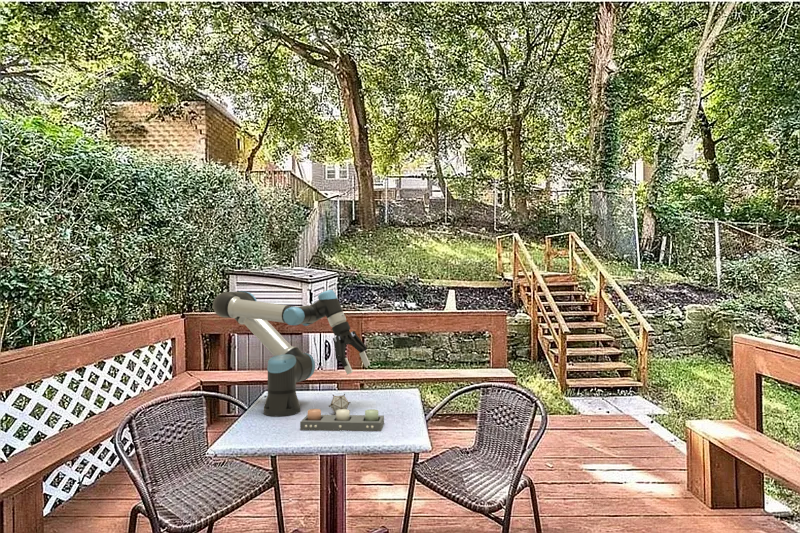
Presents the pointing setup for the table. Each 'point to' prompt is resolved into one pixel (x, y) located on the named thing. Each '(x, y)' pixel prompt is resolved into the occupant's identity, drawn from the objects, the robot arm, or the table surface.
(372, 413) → the button two
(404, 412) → the table surface
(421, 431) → the table surface
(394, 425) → the table surface
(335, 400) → the game die
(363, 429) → the console
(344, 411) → the button one
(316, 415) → the button three
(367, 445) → the table surface
